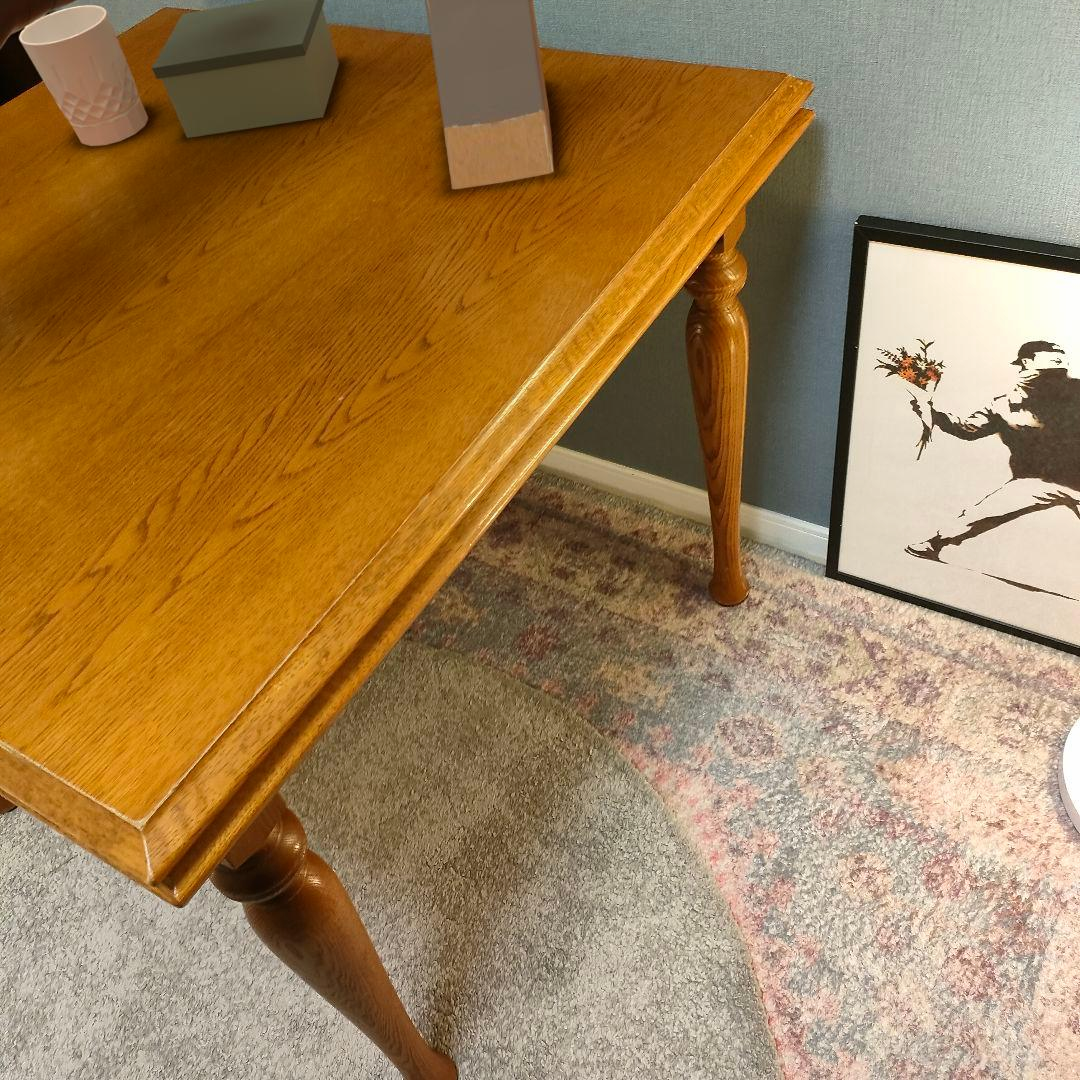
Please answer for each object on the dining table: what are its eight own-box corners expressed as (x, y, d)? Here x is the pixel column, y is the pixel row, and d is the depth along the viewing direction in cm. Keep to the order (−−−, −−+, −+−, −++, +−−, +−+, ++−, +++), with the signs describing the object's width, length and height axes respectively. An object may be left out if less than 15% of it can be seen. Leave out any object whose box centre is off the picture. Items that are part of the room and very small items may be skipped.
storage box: (184, 144, 92) (151, 67, 87) (211, 86, 100) (182, 13, 95) (327, 122, 91) (301, 43, 85) (343, 65, 98) (321, -10, 93)
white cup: (94, 161, 93) (38, 51, 85) (62, 138, 97) (6, 32, 90) (169, 124, 95) (120, 15, 88) (134, 103, 100) (85, -2, 92)
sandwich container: (449, 197, 79) (401, -4, 67) (451, 107, 89) (409, -81, 78) (557, 179, 78) (526, -27, 67) (546, 90, 88) (518, -101, 77)
